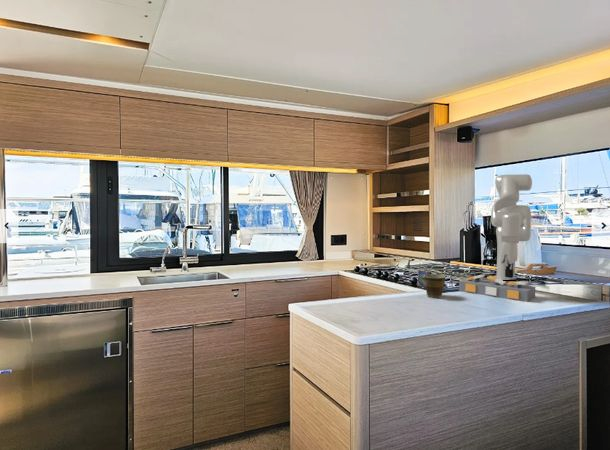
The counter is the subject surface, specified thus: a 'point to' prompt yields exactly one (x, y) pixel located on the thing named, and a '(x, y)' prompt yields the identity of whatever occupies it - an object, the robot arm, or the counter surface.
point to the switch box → (497, 289)
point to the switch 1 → (475, 277)
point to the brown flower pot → (433, 285)
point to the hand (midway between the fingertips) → (509, 277)
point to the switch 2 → (496, 280)
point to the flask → (421, 274)
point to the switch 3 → (517, 283)
